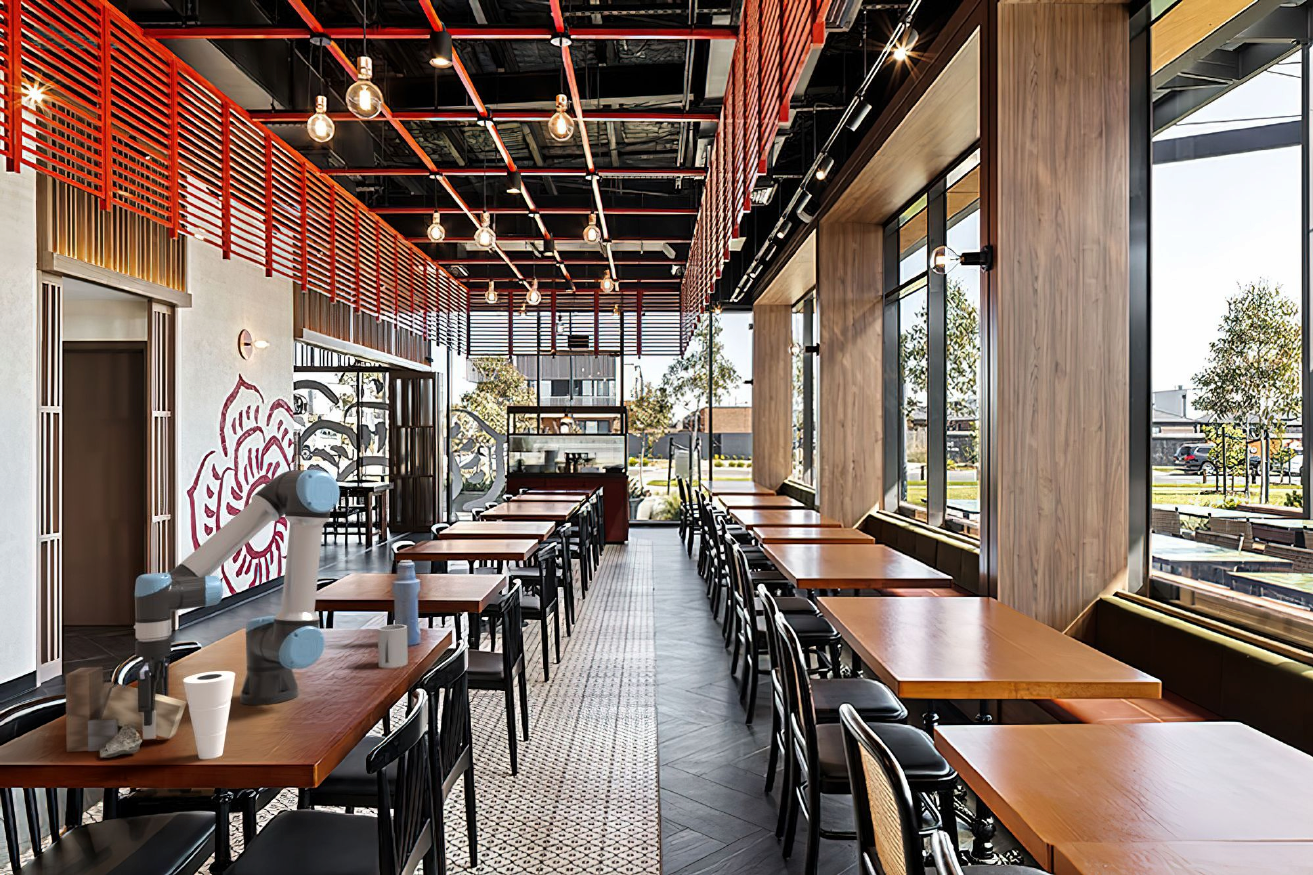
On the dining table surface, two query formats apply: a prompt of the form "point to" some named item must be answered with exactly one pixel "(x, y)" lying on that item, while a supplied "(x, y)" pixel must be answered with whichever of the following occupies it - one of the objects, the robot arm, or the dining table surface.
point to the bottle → (407, 600)
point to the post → (88, 711)
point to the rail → (125, 708)
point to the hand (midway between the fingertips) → (153, 734)
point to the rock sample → (122, 743)
